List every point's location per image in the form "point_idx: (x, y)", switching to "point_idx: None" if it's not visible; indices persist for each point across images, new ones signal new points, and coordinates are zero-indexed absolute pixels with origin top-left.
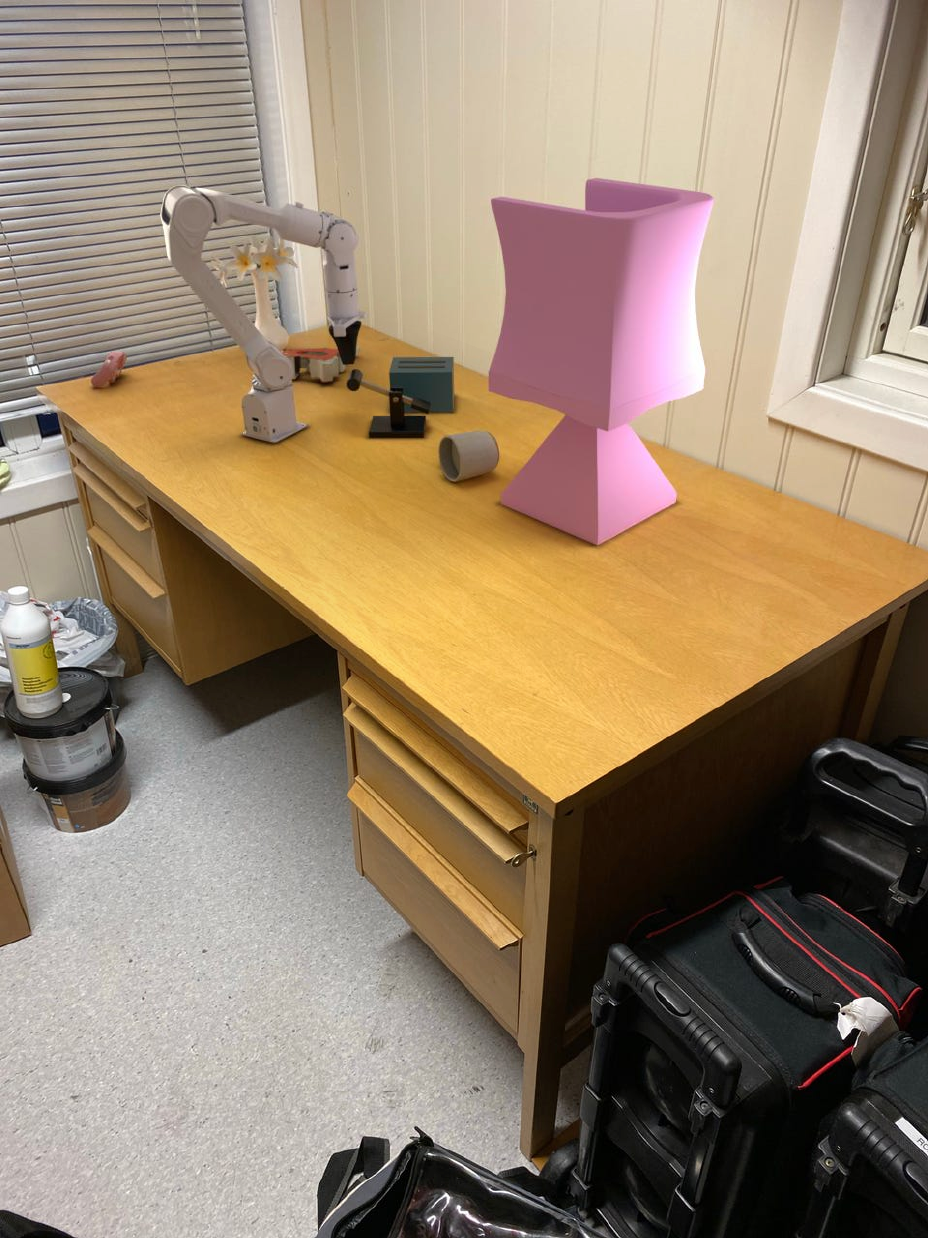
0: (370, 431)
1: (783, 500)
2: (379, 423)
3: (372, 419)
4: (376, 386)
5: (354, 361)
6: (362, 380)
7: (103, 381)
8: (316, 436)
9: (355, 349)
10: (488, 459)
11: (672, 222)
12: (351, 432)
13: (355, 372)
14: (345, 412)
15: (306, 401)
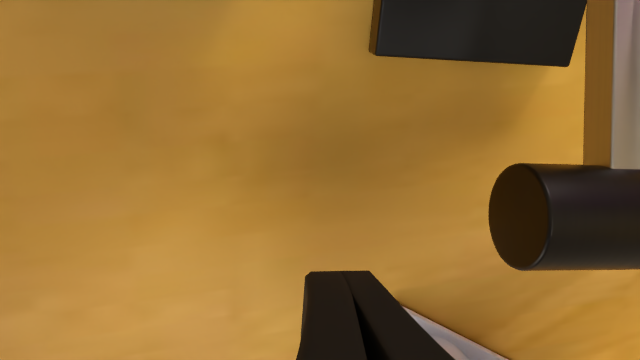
0: (568, 59)
1: None
2: (483, 18)
3: (426, 56)
4: None
5: (364, 278)
6: (631, 158)
7: None
8: (480, 259)
9: (398, 351)
10: None
11: None
12: (472, 141)
13: (634, 236)
14: (245, 186)
15: (120, 343)
